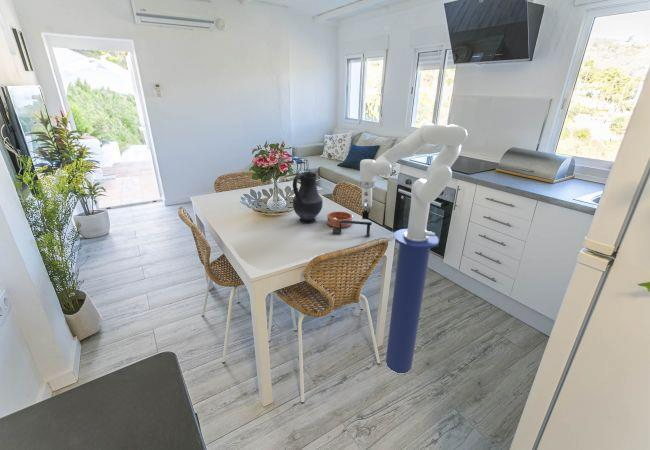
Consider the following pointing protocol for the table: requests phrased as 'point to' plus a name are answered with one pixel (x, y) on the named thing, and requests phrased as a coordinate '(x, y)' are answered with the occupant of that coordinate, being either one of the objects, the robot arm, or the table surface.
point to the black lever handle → (338, 231)
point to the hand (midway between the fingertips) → (365, 215)
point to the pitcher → (307, 197)
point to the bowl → (338, 219)
